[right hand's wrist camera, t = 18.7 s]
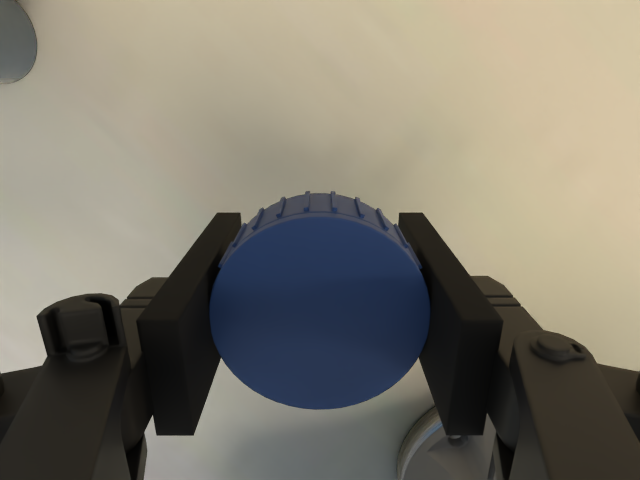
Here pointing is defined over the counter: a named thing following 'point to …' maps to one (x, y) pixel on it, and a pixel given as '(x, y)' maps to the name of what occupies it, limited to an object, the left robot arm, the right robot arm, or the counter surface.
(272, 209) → the lid
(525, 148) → the counter surface
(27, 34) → the grey long cylinder
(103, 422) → the right robot arm
